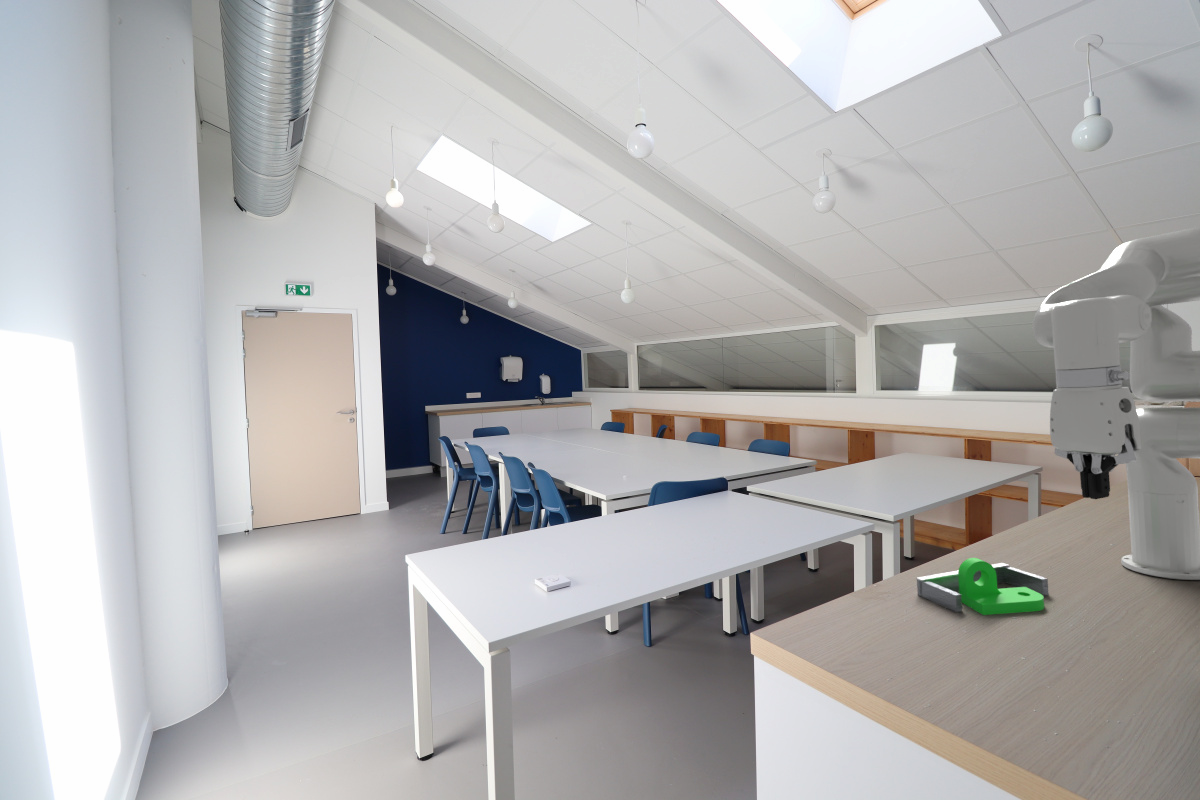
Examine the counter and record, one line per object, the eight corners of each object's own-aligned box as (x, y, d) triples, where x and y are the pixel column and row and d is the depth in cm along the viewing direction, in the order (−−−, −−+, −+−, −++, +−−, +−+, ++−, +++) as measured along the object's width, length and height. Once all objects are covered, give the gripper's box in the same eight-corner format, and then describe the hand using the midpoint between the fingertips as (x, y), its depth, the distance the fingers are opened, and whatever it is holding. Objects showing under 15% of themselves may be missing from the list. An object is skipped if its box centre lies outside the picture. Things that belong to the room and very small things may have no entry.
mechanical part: (983, 616, 93) (980, 569, 93) (960, 602, 99) (957, 558, 99) (1053, 611, 93) (1050, 564, 93) (1026, 597, 99) (1023, 554, 99)
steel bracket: (1003, 579, 108) (1002, 562, 108) (1048, 594, 99) (1047, 576, 99) (917, 594, 103) (916, 577, 103) (956, 612, 95) (955, 593, 95)
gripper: (1165, 375, 78) (1173, 503, 78) (1056, 378, 92) (1064, 485, 93) (1125, 381, 76) (1134, 511, 77) (1021, 382, 91) (1029, 492, 91)
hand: (1095, 496), depth 85 cm, fingers closed
